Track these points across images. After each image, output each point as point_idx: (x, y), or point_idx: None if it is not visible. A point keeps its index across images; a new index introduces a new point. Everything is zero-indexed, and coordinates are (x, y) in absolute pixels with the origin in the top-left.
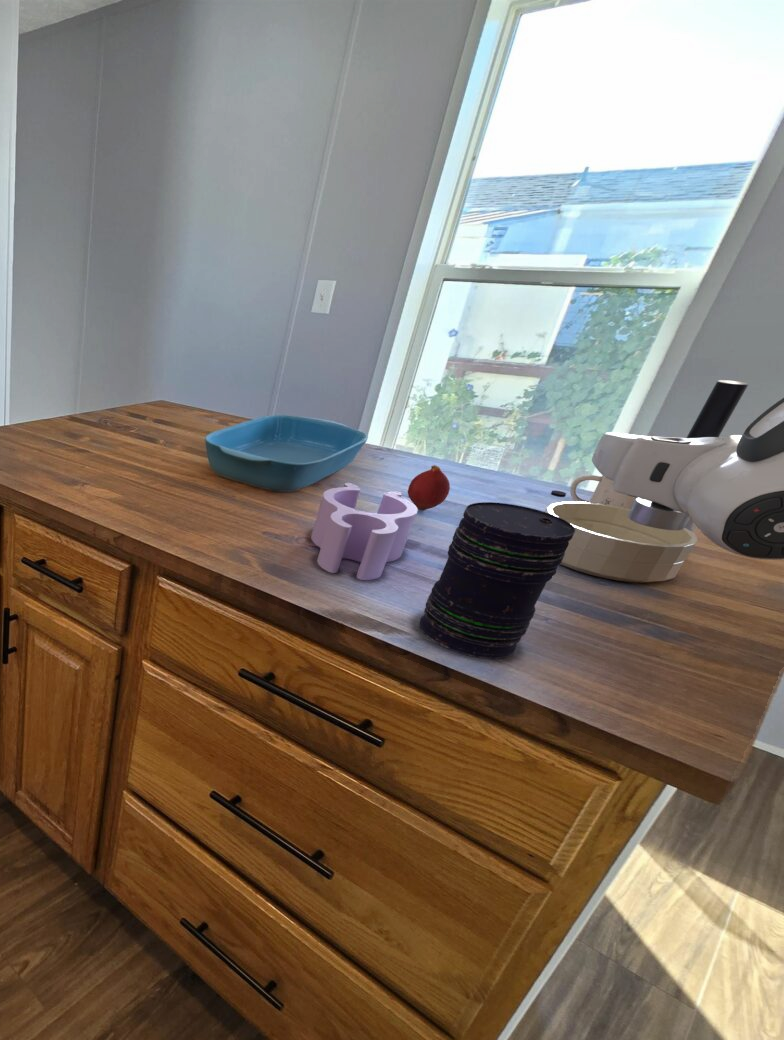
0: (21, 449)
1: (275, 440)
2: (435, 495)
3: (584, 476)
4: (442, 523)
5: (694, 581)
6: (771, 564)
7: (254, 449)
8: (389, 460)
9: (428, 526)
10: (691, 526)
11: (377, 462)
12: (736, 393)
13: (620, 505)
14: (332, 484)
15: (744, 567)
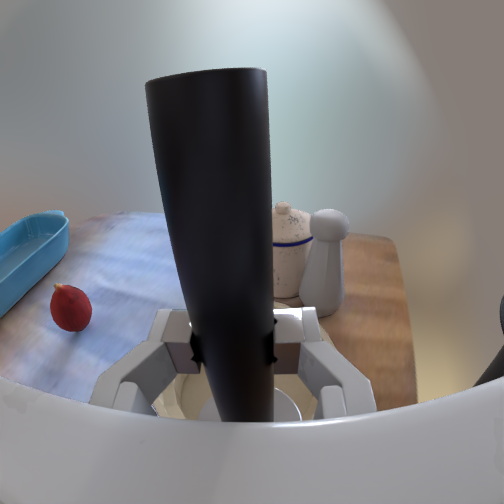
0: None
1: (30, 239)
2: (67, 324)
3: None
4: (87, 358)
5: None
6: (406, 301)
7: (7, 259)
8: (117, 228)
9: (67, 373)
10: (340, 291)
11: (103, 235)
12: (220, 122)
13: (273, 272)
14: (33, 297)
15: (391, 322)
